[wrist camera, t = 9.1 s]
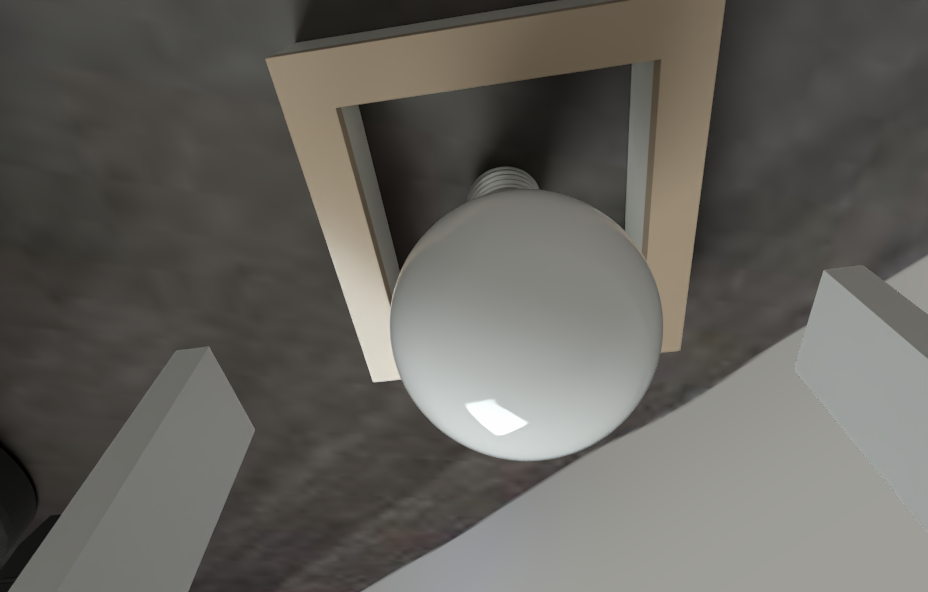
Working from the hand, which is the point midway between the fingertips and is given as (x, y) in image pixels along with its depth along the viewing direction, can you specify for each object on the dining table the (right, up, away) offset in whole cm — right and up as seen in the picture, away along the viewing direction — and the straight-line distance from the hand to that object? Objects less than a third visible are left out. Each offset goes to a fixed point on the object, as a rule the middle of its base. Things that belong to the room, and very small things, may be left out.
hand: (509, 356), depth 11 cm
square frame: (0, +5, +7) cm, 9 cm away
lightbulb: (0, +5, +8) cm, 9 cm away
